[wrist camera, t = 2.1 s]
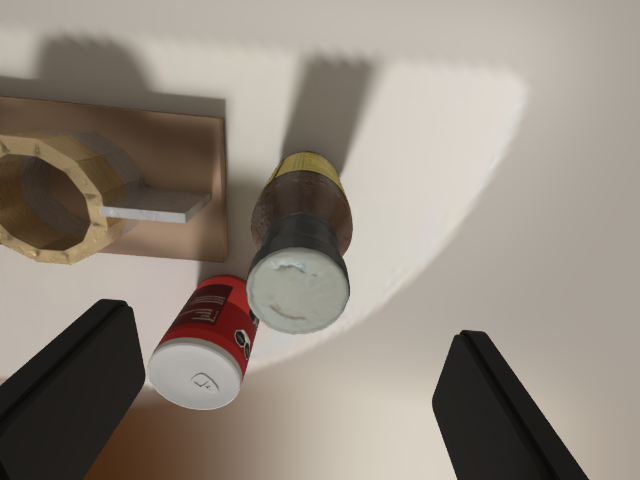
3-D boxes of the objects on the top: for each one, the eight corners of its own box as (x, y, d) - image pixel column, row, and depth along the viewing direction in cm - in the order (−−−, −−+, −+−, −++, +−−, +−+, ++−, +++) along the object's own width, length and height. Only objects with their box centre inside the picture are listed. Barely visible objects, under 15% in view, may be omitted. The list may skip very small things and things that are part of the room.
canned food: (244, 337, 38) (216, 422, 28) (184, 308, 36) (131, 387, 26) (275, 294, 35) (258, 371, 25) (213, 260, 33) (166, 327, 23)
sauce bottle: (299, 223, 31) (271, 384, 13) (262, 172, 29) (167, 283, 11) (352, 189, 30) (402, 318, 12) (317, 133, 28) (311, 187, 10)
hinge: (213, 244, 31) (190, 274, 25) (-12, 225, 30) (-86, 252, 24) (208, 142, 27) (179, 152, 21) (-52, 117, 26) (-153, 120, 20)
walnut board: (228, 256, 33) (224, 262, 32) (-1, 237, 32) (-15, 243, 31) (223, 118, 27) (218, 119, 26) (-55, 90, 26) (-75, 89, 25)
